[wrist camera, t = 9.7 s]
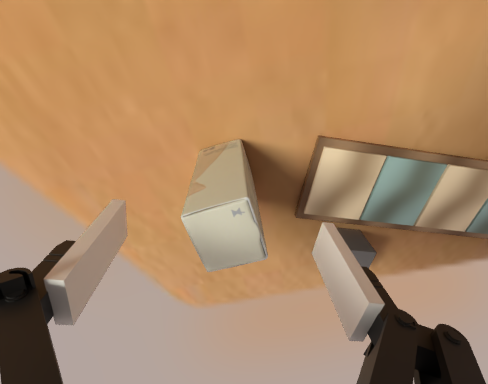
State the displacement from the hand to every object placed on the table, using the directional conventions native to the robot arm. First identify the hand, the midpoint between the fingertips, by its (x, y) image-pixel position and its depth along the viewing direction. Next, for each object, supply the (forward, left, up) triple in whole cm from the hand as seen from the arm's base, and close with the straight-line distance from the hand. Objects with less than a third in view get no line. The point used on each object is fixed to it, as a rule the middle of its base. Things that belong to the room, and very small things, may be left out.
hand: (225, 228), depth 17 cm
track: (+22, 0, -9) cm, 23 cm away
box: (0, 0, -10) cm, 10 cm away
